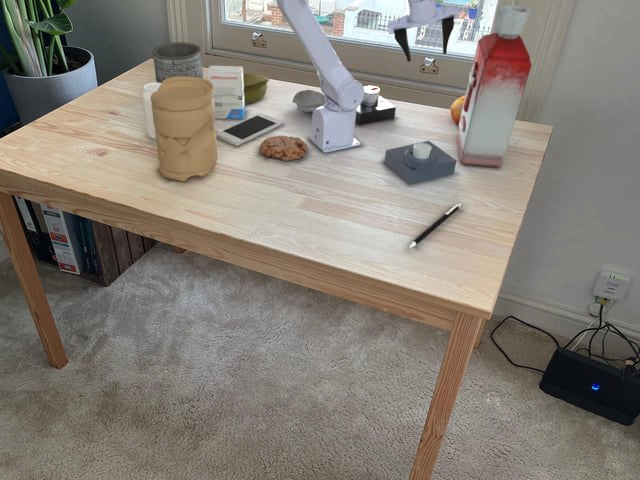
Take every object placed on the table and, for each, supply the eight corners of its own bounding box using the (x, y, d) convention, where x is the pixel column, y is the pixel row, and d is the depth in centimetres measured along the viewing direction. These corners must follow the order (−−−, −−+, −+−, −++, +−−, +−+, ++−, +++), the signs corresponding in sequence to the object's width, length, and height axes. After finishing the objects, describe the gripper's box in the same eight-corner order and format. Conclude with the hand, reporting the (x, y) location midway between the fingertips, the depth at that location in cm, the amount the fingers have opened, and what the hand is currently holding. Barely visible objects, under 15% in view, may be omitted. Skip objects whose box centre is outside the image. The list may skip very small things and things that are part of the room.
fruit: (495, 125, 136) (485, 97, 132) (463, 141, 139) (451, 114, 135) (485, 111, 142) (475, 83, 138) (454, 126, 145) (443, 100, 141)
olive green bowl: (268, 108, 149) (268, 82, 144) (222, 107, 149) (220, 82, 145) (269, 90, 157) (269, 66, 153) (225, 90, 158) (224, 66, 153)
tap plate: (359, 125, 140) (360, 113, 138) (341, 111, 147) (342, 99, 145) (394, 118, 143) (396, 106, 141) (375, 104, 149) (377, 93, 147)
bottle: (505, 170, 123) (550, 21, 103) (455, 166, 125) (490, 19, 105) (497, 139, 134) (537, 0, 114) (452, 136, 135) (483, -3, 116)
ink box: (245, 111, 147) (244, 65, 140) (243, 119, 143) (241, 72, 136) (212, 110, 148) (209, 64, 140) (209, 118, 144) (205, 71, 137)
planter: (213, 95, 155) (210, 46, 147) (185, 111, 148) (180, 61, 139) (177, 86, 160) (172, 39, 152) (149, 102, 153) (142, 52, 144)
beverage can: (166, 128, 140) (160, 79, 133) (178, 137, 136) (172, 88, 129) (143, 134, 138) (135, 85, 130) (154, 144, 134) (147, 94, 126)
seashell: (283, 111, 147) (283, 92, 144) (300, 100, 152) (301, 82, 149) (323, 123, 141) (324, 103, 138) (339, 111, 147) (341, 92, 143)
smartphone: (215, 136, 136) (215, 133, 136) (260, 116, 145) (260, 112, 144) (237, 146, 132) (236, 142, 132) (281, 124, 141) (281, 121, 140)
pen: (462, 206, 112) (463, 201, 111) (410, 250, 102) (411, 245, 101) (458, 205, 113) (459, 200, 112) (406, 248, 102) (407, 243, 101)
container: (156, 184, 120) (144, 100, 108) (164, 155, 130) (154, 76, 118) (216, 183, 120) (211, 100, 108) (219, 155, 130) (215, 75, 118)
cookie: (258, 143, 134) (258, 131, 132) (303, 141, 134) (304, 129, 132) (262, 164, 126) (261, 152, 124) (309, 162, 127) (310, 149, 125)
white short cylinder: (418, 161, 117) (420, 152, 116) (408, 153, 119) (410, 144, 118) (433, 158, 118) (435, 149, 117) (423, 150, 120) (424, 141, 119)
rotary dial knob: (365, 108, 141) (367, 92, 138) (356, 101, 144) (358, 86, 141) (381, 105, 142) (383, 89, 139) (372, 98, 145) (374, 83, 142)
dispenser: (411, 186, 118) (415, 164, 115) (383, 163, 126) (387, 142, 123) (455, 175, 121) (461, 154, 118) (426, 153, 129) (430, 132, 126)
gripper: (455, -23, 119) (459, 39, 129) (385, -5, 124) (393, 53, 134) (458, -8, 115) (461, 55, 124) (384, 10, 120) (393, 69, 129)
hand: (426, 55), depth 129 cm, fingers open, 7 cm apart
